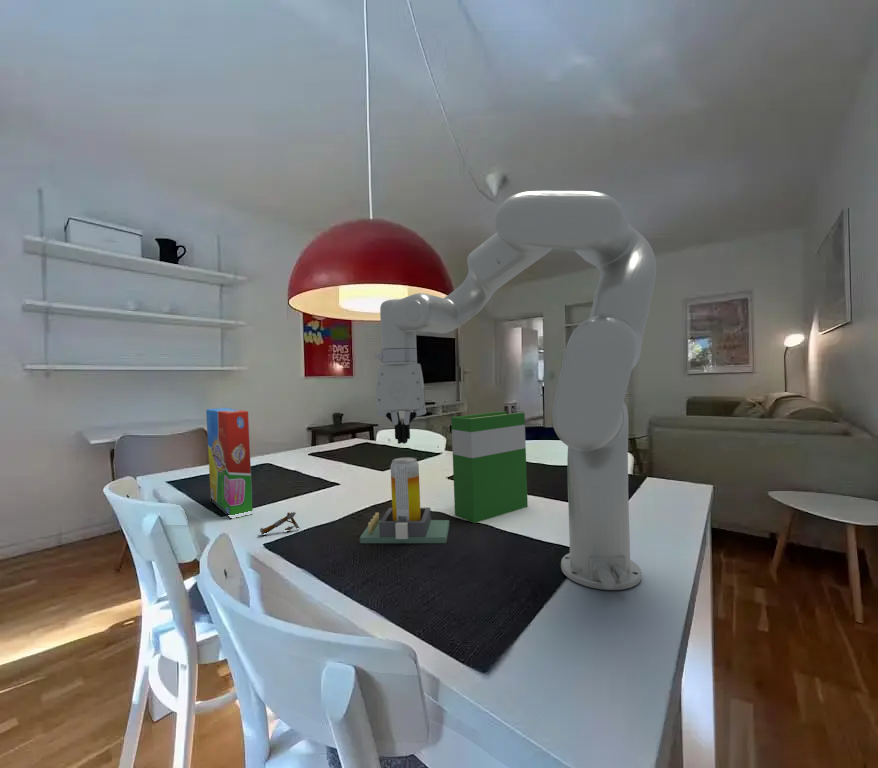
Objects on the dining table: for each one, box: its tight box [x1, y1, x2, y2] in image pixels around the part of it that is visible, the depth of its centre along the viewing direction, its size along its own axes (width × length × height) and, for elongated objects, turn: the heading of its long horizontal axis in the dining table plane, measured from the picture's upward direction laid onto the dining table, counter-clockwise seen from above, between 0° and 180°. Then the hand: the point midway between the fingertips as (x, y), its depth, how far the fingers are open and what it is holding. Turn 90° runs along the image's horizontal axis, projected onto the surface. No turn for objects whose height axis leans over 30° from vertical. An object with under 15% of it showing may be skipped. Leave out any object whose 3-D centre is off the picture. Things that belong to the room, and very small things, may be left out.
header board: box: [359, 507, 450, 544], centre depth 90 cm, size 11×18×4 cm, turn 85°
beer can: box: [390, 457, 421, 521], centre depth 90 cm, size 6×6×15 cm
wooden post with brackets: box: [259, 511, 300, 535], centre depth 94 cm, size 2×8×4 cm, turn 109°
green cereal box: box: [450, 410, 529, 524], centre depth 103 cm, size 18×7×24 cm, turn 125°
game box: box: [205, 407, 253, 515], centre depth 113 cm, size 21×6×27 cm, turn 42°
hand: (402, 442), depth 90 cm, fingers closed
